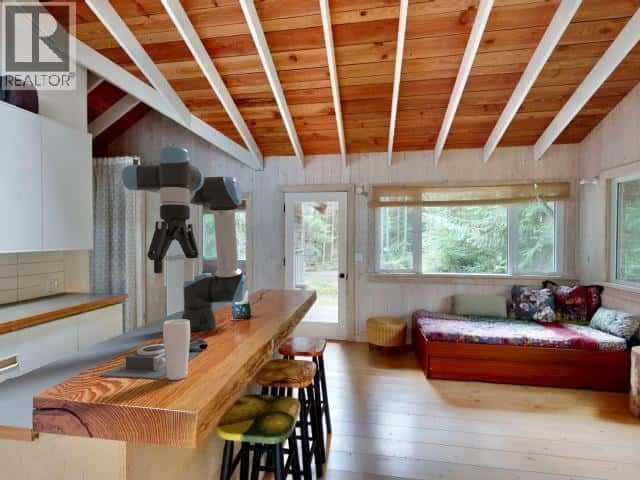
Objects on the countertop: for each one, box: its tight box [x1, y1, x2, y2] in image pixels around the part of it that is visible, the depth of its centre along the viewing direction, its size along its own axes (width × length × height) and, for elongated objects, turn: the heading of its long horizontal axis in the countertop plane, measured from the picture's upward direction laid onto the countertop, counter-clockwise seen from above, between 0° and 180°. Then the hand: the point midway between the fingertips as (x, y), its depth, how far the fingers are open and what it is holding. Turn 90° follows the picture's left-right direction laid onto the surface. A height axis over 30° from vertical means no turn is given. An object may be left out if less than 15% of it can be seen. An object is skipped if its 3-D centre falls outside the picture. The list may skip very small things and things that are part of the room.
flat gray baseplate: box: [99, 343, 202, 380], centre depth 106 cm, size 22×18×5 cm
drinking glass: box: [162, 318, 191, 381], centre depth 95 cm, size 7×7×15 cm
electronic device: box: [160, 338, 209, 353], centre depth 122 cm, size 9×6×15 cm
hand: (175, 283), depth 95 cm, fingers open, 13 cm apart
